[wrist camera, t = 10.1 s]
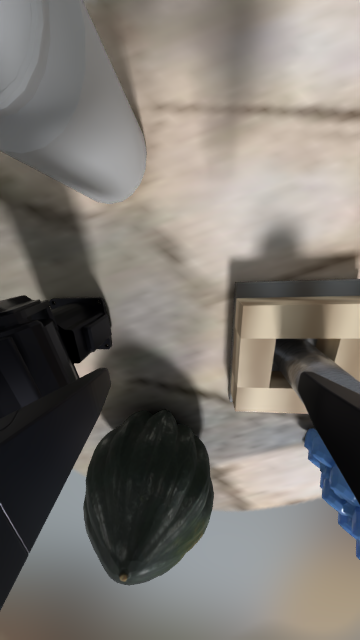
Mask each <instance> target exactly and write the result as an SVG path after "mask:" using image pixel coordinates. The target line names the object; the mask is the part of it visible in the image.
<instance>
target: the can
mask: <svg viewBox="0 0 360 640" xmlns="http://www.w3.org/2000/svg"><path fill="white" fill-rule="evenodd" d="M0 151H2V152H3V153H5V154H7V155H9V156H11V157H13V158H15V159H17V160H19V161H21V162H22V163H24V164H26V165H28V166H30V167H32V168H34V169H36V170H38V171H40V172H42V173H43V174H45V175H47V176H49V177H51V178H53V179H55V180H57V181H59V182H61V183H62V184H64V185H66V186H68V187H70V188H72V189H74V190H76V191H78V192H80V193H82V194H83V195H85V196H87V197H89V198H91V199H93V200H95V201H97V202H101V203H107V204H113V203H117V202H122V201H123V200H125V199H126V198H128V197H129V196H131V195H132V194H133V193H134V191H135V190H136V189H137V187H138V186H139V185H140V183H141V180H142V178H143V175H144V172H145V168H146V155H147V152H146V146H145V140H144V135H143V133H142V131H141V129H140V126H139V124H138V122H137V120H136V117H135V115H134V113H133V111H132V109H131V106H130V104H129V102H128V100H127V97H126V95H125V93H124V91H123V89H122V86H121V84H120V82H119V80H118V77H117V75H116V73H115V71H114V68H113V66H112V64H111V62H110V60H109V57H108V55H107V53H106V51H105V48H104V46H103V44H102V42H101V39H100V37H99V35H98V33H97V31H96V28H95V26H94V24H93V22H92V19H91V17H90V15H89V13H88V10H87V8H86V6H85V4H84V2H83V0H0Z"/></svg>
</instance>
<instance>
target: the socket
mask: <svg viewBox="0 0 360 640" xmlns="http://www.w3.org/2000/svg"><path fill="white" fill-rule="evenodd" d="M276 339H306V340H307V341H308V342H309V343H311V344H312V345H313V346H315V347H316V348H317V349H318V350H320V351H321V352H322V353H323V354H325V355H326V356H327V357H329V358H330V359H331V360H332V361H334V362H335V363H336V364H337V365H339V366H340V367H341V368H342V369H344V370H345V371H346V372H348V373H349V374H350V375H351V376H353V377H354V378H355V379H356V380H358V381H359V382H360V279H334V280H298V281H262V282H235V298H234V315H233V332H232V349H231V367H230V384H229V399H230V402H233V404H234V408H235V411H242V412H270V413H299V414H308V412H307V410H306V408H305V405H304V404H303V402H302V401H301V399H300V398H299V397H298V395H297V394H296V392H295V391H294V390H293V388H292V387H291V385H290V384H289V383H288V381H287V380H286V378H285V377H284V375H283V374H282V373H281V371H280V370H279V368H278V367H277V366H276V364H275V363H274V361H273V357H274V350H275V343H276Z"/></svg>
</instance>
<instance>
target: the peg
mask: <svg viewBox="0 0 360 640" xmlns="http://www.w3.org/2000/svg"><path fill="white" fill-rule="evenodd" d="M273 361H274V363H275V364H276V366H277V367H278V368H279V370H280V371H281V373H282V374H283V375H284V377H285V378H286V380H287V381H288V383H289V384H290V385H291V387H292V388H293V390H294V391H295V392H296V394H297V395H298V397H299V398H300V399H301V397H300V394H299V392H298V383H299V378H300V374H301V372H303V371H306V372H314V373H316V374H318V375H320V376H322V377H325V378H327V379H329V380H331V381H333V382H335V383H337V384H339V385H341V386H344V387H346V388H348V389H350V390H352V391H354V392H356V393H358V394H360V382H359V381H358V380H356V379H355V378H354V377H353V376H351V375H350V374H349V373H348V372H346V371H345V370H344V369H342V368H341V367H340V366H339V365H337V364H336V363H335V362H334V361H332V360H331V359H330V358H329V357H327V356H326V355H325V354H323V353H322V352H321V351H320V350H318V349H317V348H316V347H315V346H313V345H312V344H311V343H309V342H308V341H307V340H306V339H276V343H275V350H274V357H273ZM301 401H302V399H301ZM302 402H303V401H302ZM303 404H304V403H303Z"/></svg>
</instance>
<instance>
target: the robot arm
mask: <svg viewBox="0 0 360 640" xmlns="http://www.w3.org/2000/svg"><path fill="white" fill-rule="evenodd" d="M98 300H99V301H100V302H101V304H100V303H99V302H98ZM54 302H55V303H56V304H55V303H54ZM49 306H50V307H51V309H50V307H49ZM106 344H108V345H109V346H107V345H106ZM111 346H112V341H111V328H110V323H109V317H108V315H107V313H106V308H105V302H104V299H103V298H101V297H87V298H54V299H51V300H50V301H48V300H44V301H40V300H32V299H30V298H28V297H27V296H25V295H23V296H18V297H14V298H10V299H5V300H1V301H0V610H1V608H2V606H3V604H4V602H5V600H6V598H7V596H8V594H9V592H10V590H11V589H12V587H13V585H14V583H15V581H16V579H17V577H18V575H19V573H20V571H21V569H22V567H23V565H24V563H25V561H26V559H27V557H28V553H30V551H31V548H32V547H33V545H34V543H35V541H36V539H37V537H38V535H39V533H40V531H41V529H42V527H43V525H44V523H45V521H46V519H47V517H48V515H49V513H50V511H51V510H52V508H53V506H54V504H55V502H56V500H57V498H58V496H59V494H60V492H61V490H62V488H63V486H64V484H65V482H66V480H67V478H68V476H69V474H70V472H71V470H72V468H73V466H74V464H75V462H76V461H77V459H78V457H79V455H80V453H81V451H82V449H83V447H84V445H85V443H86V441H87V439H88V437H89V435H90V433H91V431H92V429H93V427H94V425H95V423H96V421H97V419H98V417H99V415H100V412H101V410H102V407H103V405H104V402H105V400H106V397H107V394H108V392H109V389H110V386H111V381H110V376H109V371H108V369H106V368H99V369H97V370H95V371H93V372H91V373H89V374H87V375H85V376H83V377H81V378H79V376H78V373H77V371H76V368H75V366H74V363H80V362H81V361H82V360H84V359H85V358H86V357H87V356H88V355H89V354H90V353H91V352H94V351H95V350H96V349H110V348H111ZM298 392H299V394H300V397H301V399H302V401H303V403H304V405H305V408H306V410H307V412H308V414H309V416H310V419H311V421H312V423H313V425H314V427H315V428H316V430H317V432H318V434H319V435H320V437H321V439H322V441H323V442H324V444H325V446H326V448H327V449H328V451H329V453H330V454H331V456H332V458H333V460H334V461H335V463H336V465H337V467H338V468H339V470H340V472H341V473H342V475H343V477H344V479H345V480H346V482H347V484H348V486H349V487H350V489H351V491H352V492H353V494H354V496H355V498H356V499H357V501H358V503H359V505H360V394H358V393H356V392H354V391H352V390H350V389H348V388H346V387H344V386H341V385H339V384H337V383H335V382H333V381H331V380H329V379H327V378H325V377H322V376H320V375H318V374H316V373H314V372H306V371H303V372H301V374H300V378H299V383H298Z"/></svg>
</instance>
